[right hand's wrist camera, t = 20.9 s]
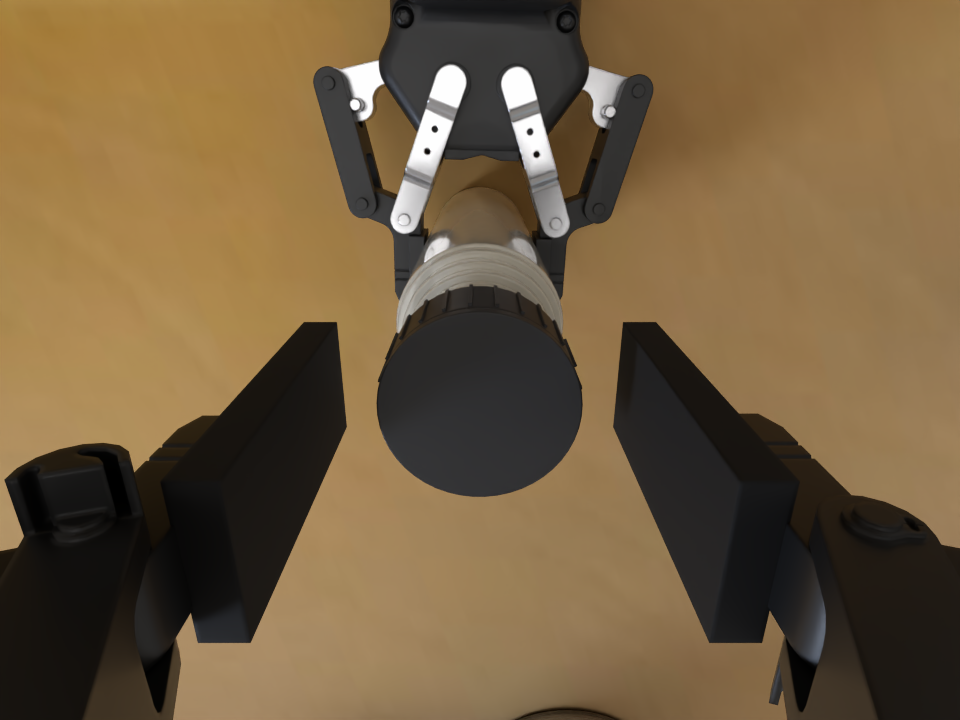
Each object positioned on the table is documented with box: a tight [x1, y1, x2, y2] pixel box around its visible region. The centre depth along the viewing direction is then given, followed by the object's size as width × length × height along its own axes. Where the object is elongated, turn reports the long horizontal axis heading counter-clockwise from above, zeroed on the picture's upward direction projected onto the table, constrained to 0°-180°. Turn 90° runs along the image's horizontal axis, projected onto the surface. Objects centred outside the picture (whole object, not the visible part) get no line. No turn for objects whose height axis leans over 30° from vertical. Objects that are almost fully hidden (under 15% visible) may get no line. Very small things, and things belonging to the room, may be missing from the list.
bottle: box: [396, 187, 563, 335], centre depth 23 cm, size 5×5×22 cm
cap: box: [377, 284, 583, 497], centre depth 13 cm, size 4×4×2 cm
